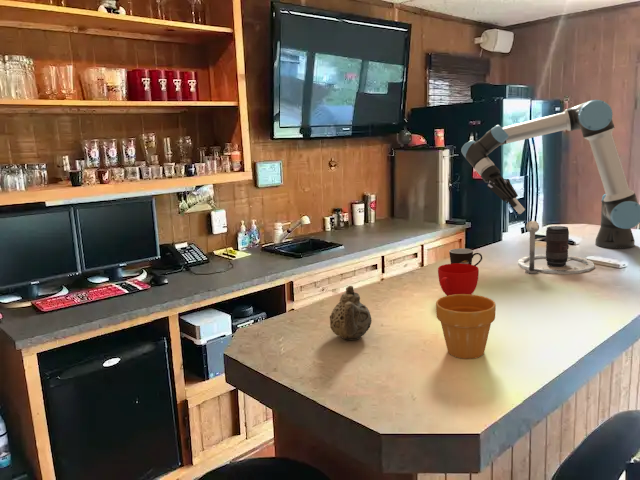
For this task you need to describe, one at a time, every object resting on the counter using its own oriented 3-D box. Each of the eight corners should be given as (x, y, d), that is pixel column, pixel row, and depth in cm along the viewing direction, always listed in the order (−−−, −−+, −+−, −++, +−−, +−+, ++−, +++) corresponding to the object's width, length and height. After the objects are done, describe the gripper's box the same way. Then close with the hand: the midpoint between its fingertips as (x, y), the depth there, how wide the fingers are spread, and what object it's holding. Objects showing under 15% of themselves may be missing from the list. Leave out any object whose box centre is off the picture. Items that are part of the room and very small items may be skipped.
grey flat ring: (573, 255, 220) (573, 252, 220) (607, 271, 194) (608, 269, 194) (508, 258, 221) (508, 256, 221) (534, 275, 194) (534, 273, 194)
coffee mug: (447, 279, 196) (447, 253, 194) (451, 273, 204) (451, 248, 202) (480, 280, 192) (480, 254, 190) (482, 274, 200) (482, 248, 198)
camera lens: (563, 262, 211) (564, 225, 208) (570, 267, 203) (572, 228, 200) (542, 262, 212) (543, 225, 209) (549, 267, 204) (550, 229, 201)
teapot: (330, 325, 156) (328, 276, 153) (369, 323, 156) (367, 274, 153) (330, 355, 135) (326, 299, 132) (375, 353, 135) (372, 297, 132)
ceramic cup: (424, 302, 172) (423, 272, 170) (450, 289, 184) (450, 261, 182) (460, 309, 163) (460, 278, 161) (485, 295, 175) (485, 266, 173)
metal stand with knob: (533, 274, 196) (534, 222, 192) (522, 272, 199) (523, 221, 195) (550, 268, 202) (552, 218, 198) (540, 266, 206) (541, 217, 202)
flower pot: (460, 368, 123) (460, 316, 121) (425, 348, 136) (424, 300, 134) (507, 355, 129) (508, 305, 126) (469, 337, 142) (469, 290, 139)
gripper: (492, 175, 232) (525, 215, 222) (472, 178, 225) (506, 220, 215) (502, 163, 227) (537, 203, 216) (482, 165, 220) (518, 208, 209)
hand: (522, 211), depth 216 cm, fingers closed
